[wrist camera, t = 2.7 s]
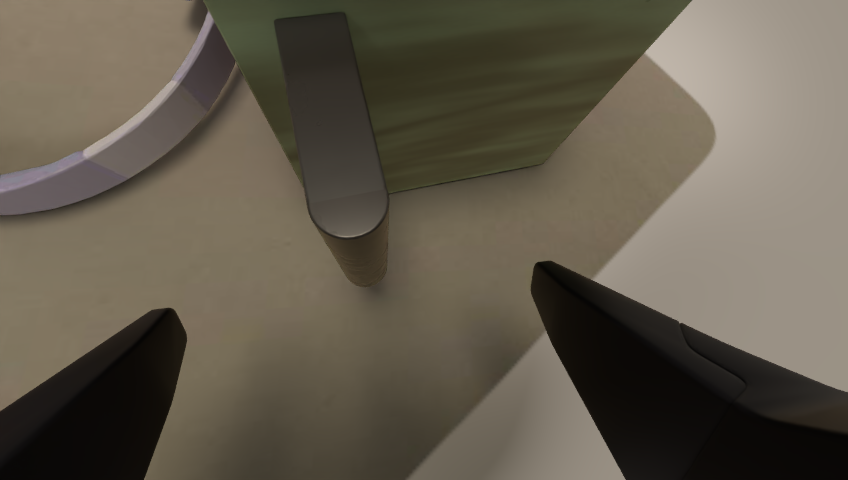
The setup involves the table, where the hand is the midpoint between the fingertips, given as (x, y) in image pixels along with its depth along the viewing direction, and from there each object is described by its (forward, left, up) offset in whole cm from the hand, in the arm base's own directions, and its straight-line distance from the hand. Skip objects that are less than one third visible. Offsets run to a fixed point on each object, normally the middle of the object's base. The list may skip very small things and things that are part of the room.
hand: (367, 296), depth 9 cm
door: (+5, -3, -9) cm, 11 cm away
